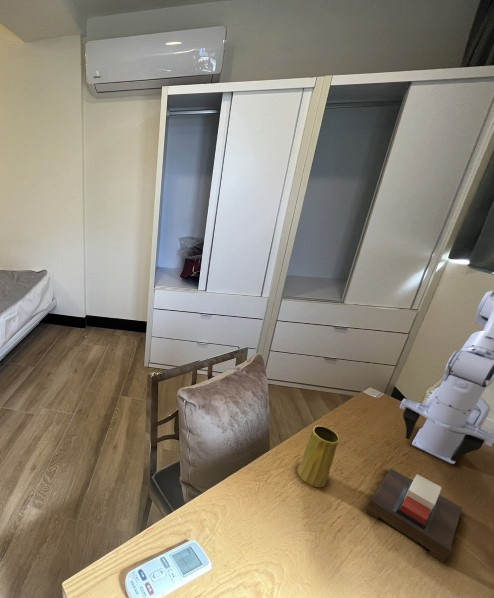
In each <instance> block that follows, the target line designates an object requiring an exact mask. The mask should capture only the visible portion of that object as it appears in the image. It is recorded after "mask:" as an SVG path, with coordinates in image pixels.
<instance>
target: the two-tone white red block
mask: <svg viewBox="0 0 494 598" xmlns="http://www.w3.org/2000/svg"><path fill="white" fill-rule="evenodd" d="M412 480H413V482H412V484H411V483H410V485H409V487H408V489H407V491H406V493H405V495H404V497H403V499H402V501H401V503H400V505H399V507H398V509H397V511H396V513H398V514H399V515H401V516H403V517H404V518H406V519H407V520H409V521H411V522H412V523H414V524H415V525H417V526H419V527H420V528H422V529H423V530H424V529H425V528H426V526H427V523H428V521H429V518H430V515H431V513H432V510H433V508H434V506H435V504H436V501H437V499H438V496H439V495H440V494H441V490H442V488H443V487H442V486H440V485H438V484H436V483H434V482H433V481H430V480H429V479H426V478H425V477H423V476H421V475H419V474H418V473H417V474H416V475H415V476H414V478H413V479H412Z"/></svg>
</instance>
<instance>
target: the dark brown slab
mask: <svg viewBox="0 0 494 598" xmlns="http://www.w3.org/2000/svg"><path fill="white" fill-rule="evenodd" d="M413 480H414V479H411V478H410V477H408V476H406V475H404V474H402V473H401V472H399V471H397V470H395V469H393V468H389V471H388V473H387V474H386V476H385V478H384V479H383V481H382V483H381V484H380V486H379V488H378V490H376V491H377V492H376V493H375V495H374V497H373V498H372V499H371V501H370V503H369V505H368V507H367V509H366V511H365V512H366V514H368V515H369V516H370V517H372V518H374V519H375V520H379V518H380V519H381V520H382V521H384V522H386V523H388V525H391V526H392V527H394V529H397V530H398V531H400V532H401V533H403V534H404V535H406V536H407V537H409V538H410V539H412V540H413V541H415V542H416V543H418V544H419V545H421V546H422V547H424V548H426V550H429V551H428V555H430V556H431V557H432V558H434V559H435V560H437V561H438V562H440V563H441V564H444V562H445V561H446V560H447V558H448V557H449V555H450V554H451V553H452V550H453V547H452V543H453V540H454V536H455V533H456V530H457V527H458V524H459V520H460V517H461V514H462V510H463V506H461V505H459V504H457V503H456V502H453V501H452V500H450V499H449V498H446V497H445V496H442V495H440V494H439V496H438V499H437V501H436V504H435V506H434V508H433V510H432V513H431V515H430V518H429V521H428V523H427V526H426V528H425V529H424V530H423V529H422V528H420V527H419V526H417V525H415V524H414V523H412V522H411V521H409V520H407V519H406V518H404V517H403V516H401V515H399V514H398V513H396V511H397V509H398V507H399V505H400V503H401V501H402V499H403V497H404V495H405V493H406V491H407V489H408V487H409V485H410V483H411V484H412V482H413Z"/></svg>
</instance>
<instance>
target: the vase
mask: <svg viewBox="0 0 494 598" xmlns="http://www.w3.org/2000/svg"><path fill="white" fill-rule="evenodd" d="M340 440H341V438H340V436H339V434H338V433H337V432H336V431H334V430H333V429H332V428H331V427H328V426H325V425H315V426H314V427H313V428H312V431H311V434H310V435H309V439H308V442H307V444H306V447H305V450H304V452H303V455H302V458H301V460H300V463H299V465H298V467H297V469H296V470H297V474H298V476H299V478H300V479H301V480H302V481H304V482H305V483H306V484H308V485H309V486H311V487H314V488H324V487H325V486H327V483H328V477H329V475H330V472H331V468H332V465H333V461H334V458H335V455H336V454H335V452H336V450H337V447H338V445H339V444H340Z"/></svg>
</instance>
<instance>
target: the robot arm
mask: <svg viewBox="0 0 494 598" xmlns="http://www.w3.org/2000/svg"><path fill="white" fill-rule="evenodd" d="M474 319H475V321H474V322H475V324H477V325H478V326H480V327H481V328H483V330H479V331H475V332H473V333H472V334H471V335H470V336H469V337H468V339H467V340H466V342H465V343H464V344H463V345H462V347H461V348H460V349H459V351H457V350H455V351H454V352H453V353H452V354H451V356H450V358H449V360H448V361H447V363H446V364H445V369H444V374H443V376H442V378H441V383H440V385H439V386H438V387H436V388H434V389H433V392H432V393H430V395H429V397H428V398H427V400H426V402H425V404H423V403H420V402H416V401H412V400H410V399H407V398H403V399H402V400H401V402H400V405H399V409H401V410H403V412H402V418H403V420H404V424H405V439H407V440H410V439H411V437H412V435H413V433H414V431H415V427H416V425H417V422H418V421H419V418H420V416H421V417H424V418H426V420H425V422H424V424H423V426H422V427H420V428H419V430H418V432H417V433H416V435H415V437H414V439H413V441H412V443H411V445H412V446H414V447H415V448H418V449H419V450H422V451H424V452H426V453H428V454H429V455H432V456H434V457H435V458H438V459H440V460H443V461H445V462H447V463H449V464H450V465H455V464H456V461H457V460H458V459H460V458H461V457H462V456H464V455H466V454H468V453H470V452H474V451H478V450H480V449H481V448H482V447H483V444H484V445H486V446H489V447H492V446H493V445H494V434H493V433H491V432H489V431H487V430H485V429H483V428H482V427H483V425H484V423H485V422H486V420H487V418H488V416H489V413H490V411H491V406H490V404H489V403H488V402H487V401H486V399H484V398H483V397H482V395H483V394H484V392H485V390H486V388H488V387H490V386H491V385H492V384H493V382H494V290H490V291H487V292H486V293H485V294H484V295H483V297H482V299H481V301H480V303H479V304H478V306H477V310H476V313H475V318H474Z"/></svg>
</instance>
